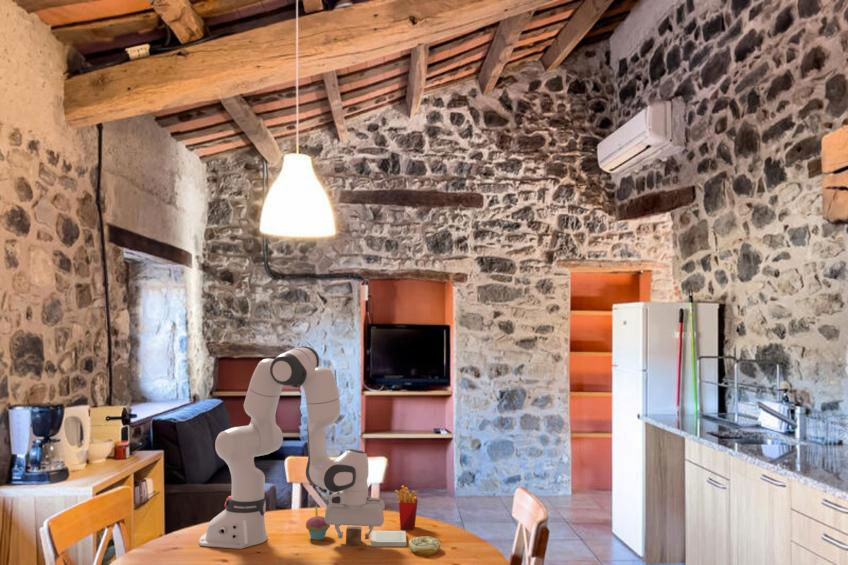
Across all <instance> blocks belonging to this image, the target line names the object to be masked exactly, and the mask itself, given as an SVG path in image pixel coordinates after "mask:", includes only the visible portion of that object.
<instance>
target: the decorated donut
mask: <svg viewBox="0 0 848 565" xmlns="http://www.w3.org/2000/svg"><path fill="white" fill-rule="evenodd" d="M408 546H409V549H410V551H412V553H413V554H416V555H418V556H426V557H428V556H433V555H435V554H437V553H438V552H439V551H440V548H441V541H440V540H439V539H437V538H435V537H433V536H429V535H428V536H427V535H426V536H423V535H422V536H415V537H412V538H411V539H410V540H409V541H408Z"/></svg>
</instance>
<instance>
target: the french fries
mask: <svg viewBox="0 0 848 565" xmlns="http://www.w3.org/2000/svg"><path fill="white" fill-rule="evenodd" d="M394 493H396V494H397V495H396V498H397V499H399V503H398V510H399V512H398V513H399V528H400V531H414V530H415V527H416V519H417V510H418V501H419V500H418V496H416V494H417V493H419V490H417V489H416V490H412V493H410V491H409V488H408V487H407V486H405V485H401V489H399V490H397V489H395V490H394Z"/></svg>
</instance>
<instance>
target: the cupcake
mask: <svg viewBox="0 0 848 565" xmlns="http://www.w3.org/2000/svg"><path fill="white" fill-rule="evenodd" d="M318 513H319V512H318V506H317V504H315V516H313V517H310V518H308V519H307V521H306V522H305V528H306V529H307V530H308V533H309V537H310V539H312V540H314V541H315V540H316V541H317V540H319V541H320V540H323V539H325V537H326V533H327V531H328V530H329V528H330V527H331V525H329V524H326V523H325V516H322V515H321V516H320V515H318Z"/></svg>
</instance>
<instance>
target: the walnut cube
mask: <svg viewBox="0 0 848 565" xmlns="http://www.w3.org/2000/svg"><path fill="white" fill-rule="evenodd" d="M362 528H363V526H347V527H346V530H345V547H360V546H361V545H362Z"/></svg>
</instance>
